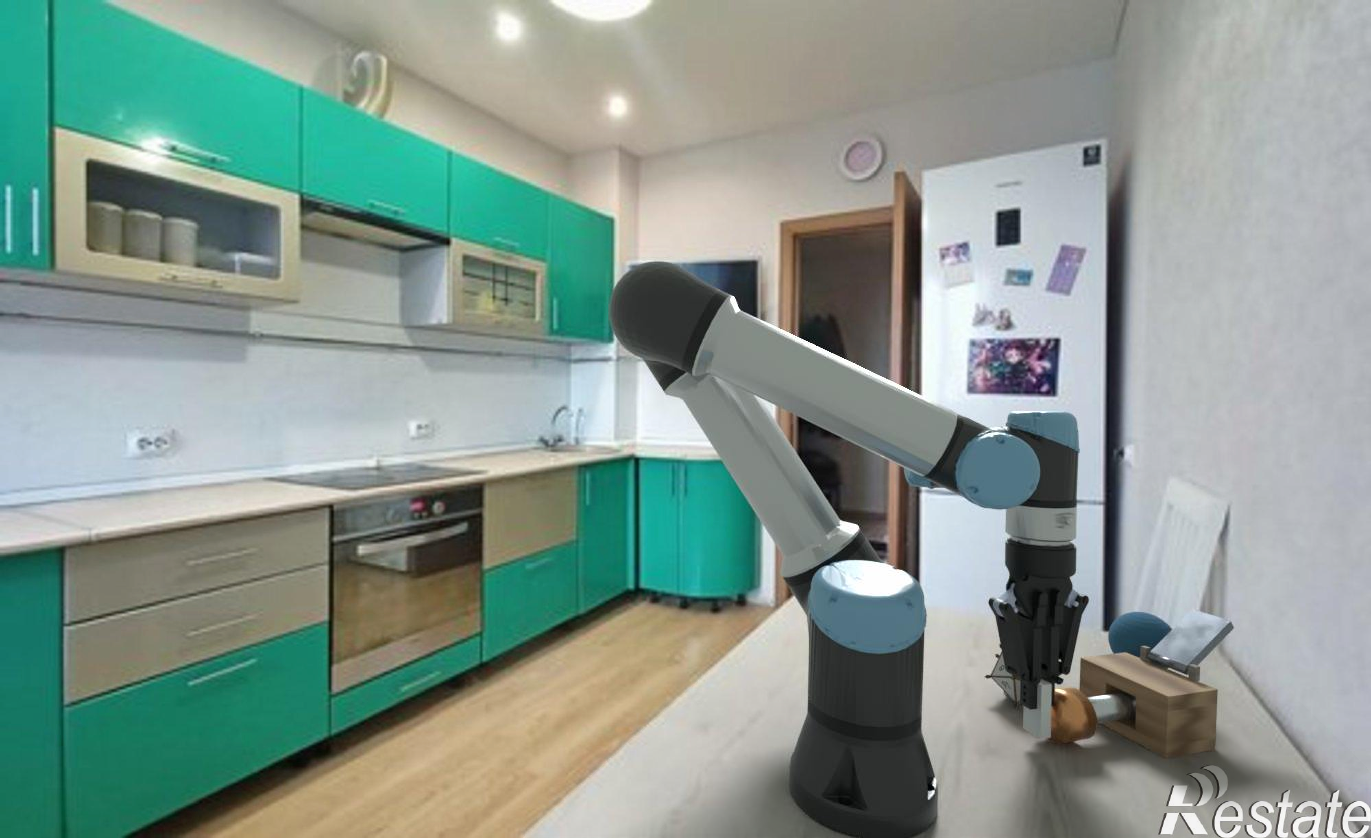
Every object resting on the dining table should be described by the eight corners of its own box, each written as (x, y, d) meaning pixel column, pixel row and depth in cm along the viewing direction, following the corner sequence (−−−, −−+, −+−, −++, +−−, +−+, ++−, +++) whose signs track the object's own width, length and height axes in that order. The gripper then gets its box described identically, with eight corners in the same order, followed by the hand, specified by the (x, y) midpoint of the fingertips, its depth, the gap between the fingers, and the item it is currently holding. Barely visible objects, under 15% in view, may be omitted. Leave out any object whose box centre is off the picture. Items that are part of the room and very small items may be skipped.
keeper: (1186, 676, 82) (1182, 669, 82) (1150, 661, 87) (1146, 655, 87) (1234, 627, 84) (1230, 620, 84) (1196, 615, 89) (1192, 609, 89)
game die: (1035, 733, 90) (1076, 695, 84) (974, 705, 91) (1010, 666, 85) (1031, 680, 97) (1069, 641, 91) (975, 654, 98) (1008, 615, 92)
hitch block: (1165, 758, 77) (1168, 681, 77) (1078, 711, 88) (1081, 644, 88) (1217, 748, 79) (1220, 674, 79) (1126, 704, 91) (1128, 639, 90)
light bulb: (1096, 680, 99) (1099, 602, 98) (1158, 686, 97) (1161, 606, 97) (1121, 705, 90) (1124, 620, 90) (1189, 712, 89) (1193, 625, 88)
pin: (1069, 753, 77) (1071, 703, 76) (1029, 728, 82) (1031, 681, 82) (1171, 736, 81) (1173, 688, 81) (1126, 713, 87) (1128, 669, 87)
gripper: (1019, 548, 73) (1016, 756, 73) (1110, 542, 76) (1106, 740, 77) (972, 535, 80) (969, 724, 80) (1058, 530, 83) (1054, 711, 84)
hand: (1036, 732), depth 79 cm, fingers closed
